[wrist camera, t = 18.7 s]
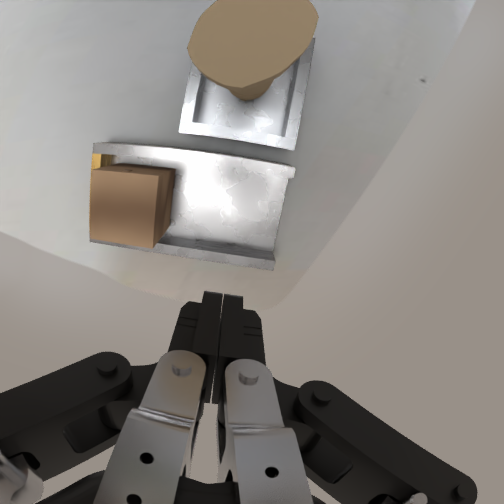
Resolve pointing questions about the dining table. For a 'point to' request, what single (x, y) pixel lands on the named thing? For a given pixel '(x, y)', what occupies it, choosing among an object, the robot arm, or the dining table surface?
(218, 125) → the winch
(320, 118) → the dining table surface
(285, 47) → the handle
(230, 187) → the bay
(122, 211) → the tan cardboard box
